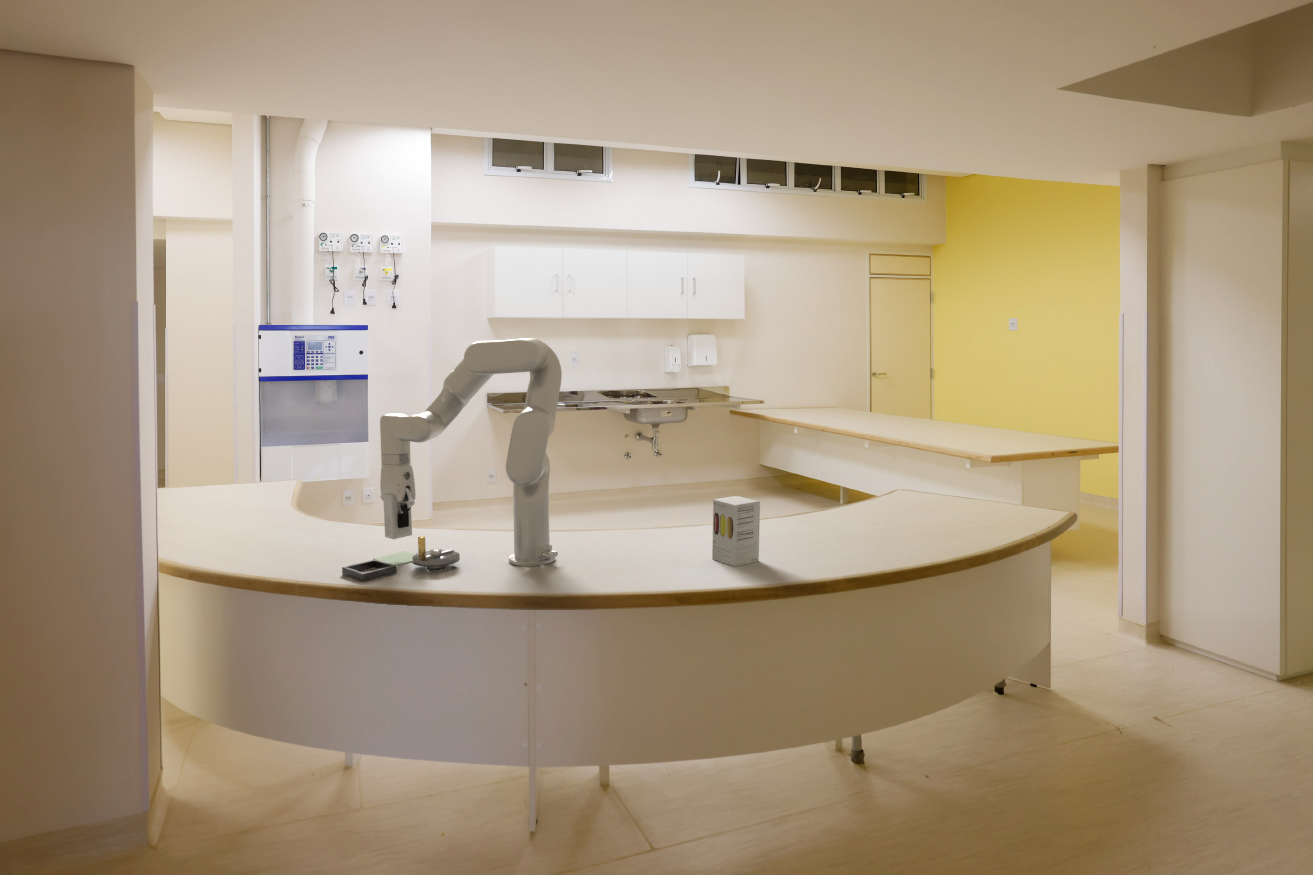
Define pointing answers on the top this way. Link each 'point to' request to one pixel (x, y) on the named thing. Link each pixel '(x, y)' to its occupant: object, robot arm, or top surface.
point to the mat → (397, 558)
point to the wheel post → (436, 568)
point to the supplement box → (736, 530)
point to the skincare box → (394, 519)
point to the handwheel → (434, 556)
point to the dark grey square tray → (381, 571)
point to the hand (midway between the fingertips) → (398, 525)
